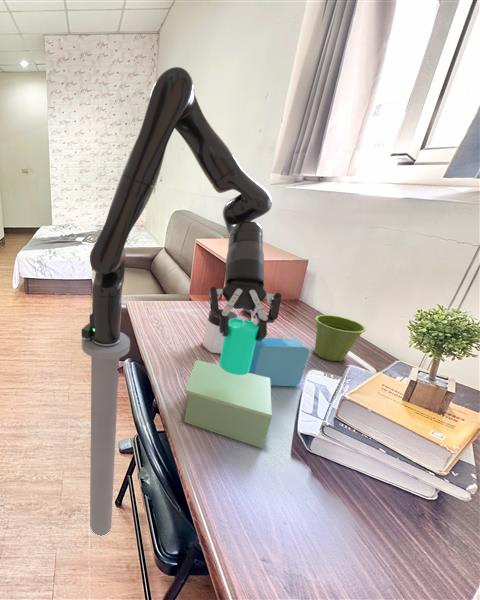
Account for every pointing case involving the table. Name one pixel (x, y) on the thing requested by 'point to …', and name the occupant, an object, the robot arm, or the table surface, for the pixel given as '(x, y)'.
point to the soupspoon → (250, 313)
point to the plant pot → (336, 336)
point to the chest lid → (231, 388)
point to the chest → (227, 420)
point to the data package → (280, 360)
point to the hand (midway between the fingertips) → (242, 337)
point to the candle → (238, 346)
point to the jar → (214, 333)
